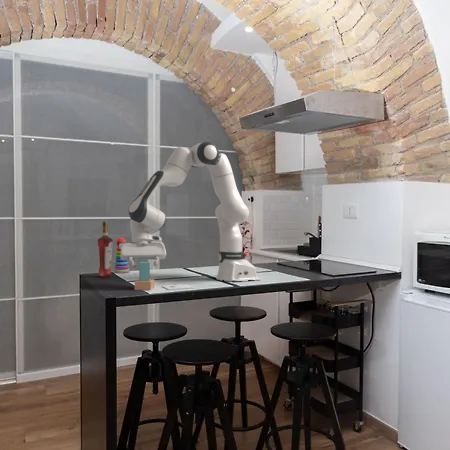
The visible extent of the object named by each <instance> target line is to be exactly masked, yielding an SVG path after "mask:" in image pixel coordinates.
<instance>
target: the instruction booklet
mask: <svg viewBox="0 0 450 450" xmlns="http://www.w3.org/2000/svg"><path fill="white" fill-rule="evenodd" d="M161 287H162V288H164V289H166V290H168V291H171V290H172V291H173V290H186V289H187V290H189V289H195V287H194V286H192V285H189V284H187V283H185V284H169V285H168V284H166V285H161Z"/></svg>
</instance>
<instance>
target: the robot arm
mask: <svg viewBox="0 0 450 450" xmlns="http://www.w3.org/2000/svg"><path fill="white" fill-rule="evenodd" d="M201 167H206V168H207V169H208V171H209V174H210V178H211V182H212V186H213V189H214V193H215V196H217V198H218V200H219V202H220V204H219V205H217V206H216V208H215V212H214V213H215V215H214V216H215V217H216V219H217V225H218V230H219V252H218V261H219V263H218V264H219V265H218V270H217V275H216V277H215V278H216V280H218V281H223V280H224V282H232V281H242V282H249V281H248V280H255V281H261V280H262V277H260V276H259V275H258V274H257V269H256V267H255V265H253V264H252V263H251V262H250V261H248V260H247V259H246V258H248V257H249V256H250V254H249V253H248V252H244V251H243V235H242V233H241V231H240V224H241V225H242V224H243V223H245V222H246V221H247V220H248V218H249V217H250V210H249V207H248V206H247V205H246V204H245V203H244V201H243V198H242V195H240V192H239V190H238V188H237V184H236V179H235V176H234V172H233V169H232V165H231V163H230V160H229V159H228V156H227V155H226V154H225V153H221V151H220V150H219V149H218V146H217V145H216V144H215V143H213V142H210V141H204V142H198V143H196V144H194V145H191V146H190V147H188V148H187V147H186V146H178V147H176V148H175V149H174V150H173V152H172V153H171V154H170V156H169V158H168V159H167V161H166V163H165V165H164V166H163V168H162V169H161V170H157V171H155V172H154V173H153V174H152V176H151V177H150V178H149V180H148V181H147V182H146V184H145V185H144V187H143V188H142V189H141V191H140V193H139V194H138V195H137V197H136V198H135V199H134V200H132V202H131V204H130V206H129V207H128V215H129V218H130V221H129V228H130V234H131V241H126V242H122V243H120V244H119V246H118V247H119V249H120V250H121V255H120V257H121V259H122V260H128V263H130V264H131V267H132V268H136V267H137V262H136V261H143V260H144V261H146V260H147V261H149V260H151V261H152V260H155V261H153V267H158V262H159V260H165V259H166V257H167V251H166V246H165V243H163V242H162V241H163V239H162V237H161V236H159V235H153V234H154V233H156V232H159V231H160V230H162V229H163V228H164V227H165V225H166V221H167V216H166V214H165V213H164V212H163V211H162V210H160V209H158V208H156V207H154V205H151V204H150V200H151V199H152V197H153V196H154V194H155V193H156V191H157V190H158V188H160V187H163V186H165V187H170V188H174V187H179V186H180V185H182V184H184V182H185V180H186V178H187V176H188V173H189V171H190V169H191V168H201Z"/></svg>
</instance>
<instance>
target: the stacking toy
mask: <svg viewBox="0 0 450 450" xmlns="http://www.w3.org/2000/svg"><path fill="white" fill-rule="evenodd" d="M122 242H127V241H126V239H125V238H124V237H119V238H117V240H116V246H117V247H116V250H117V251H116V255H115V262H114V264H115V266H114V273H116V274H126V273H129V272H130V265H129V260H122V259H121V257H120V255H121V250H120V249H119V244H120V243H122Z"/></svg>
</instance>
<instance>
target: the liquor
mask: <svg viewBox="0 0 450 450" xmlns="http://www.w3.org/2000/svg"><path fill="white" fill-rule="evenodd" d="M108 227H109V221H102V235H101V237H99V238H98V239H97V254H98V273H97V275H98V276H99V277H100V278H110V276H112V255H113V254H112V253H113V241H114V240H113V238H111V237H109V228H108Z"/></svg>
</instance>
